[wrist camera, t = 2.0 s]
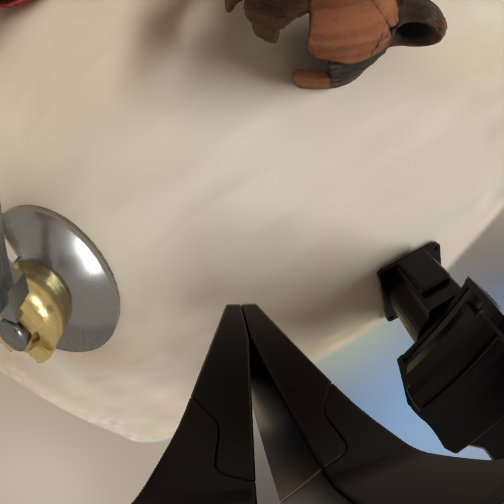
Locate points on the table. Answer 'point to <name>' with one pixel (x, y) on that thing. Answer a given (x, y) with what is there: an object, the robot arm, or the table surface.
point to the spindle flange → (63, 276)
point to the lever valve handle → (33, 302)
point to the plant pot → (11, 3)
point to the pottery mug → (347, 31)
